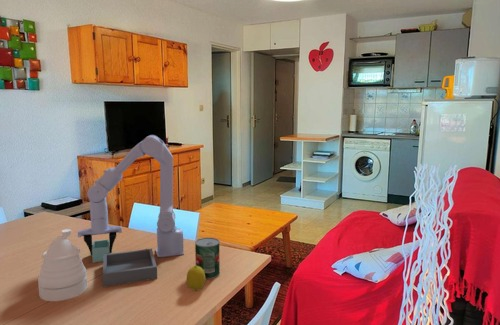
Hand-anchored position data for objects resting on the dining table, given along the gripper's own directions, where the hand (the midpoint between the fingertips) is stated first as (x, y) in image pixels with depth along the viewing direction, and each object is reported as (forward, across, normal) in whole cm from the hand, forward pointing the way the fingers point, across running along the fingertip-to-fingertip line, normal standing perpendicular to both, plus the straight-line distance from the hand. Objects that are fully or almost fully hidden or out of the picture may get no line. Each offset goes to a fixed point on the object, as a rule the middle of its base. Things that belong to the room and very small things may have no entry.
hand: (101, 253), depth 134 cm
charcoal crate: (+1, -9, +16) cm, 18 cm away
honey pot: (+2, +10, +22) cm, 24 cm away
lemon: (+2, -27, +36) cm, 45 cm away
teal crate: (+1, 0, 0) cm, 1 cm away
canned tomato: (+2, -33, +26) cm, 42 cm away
